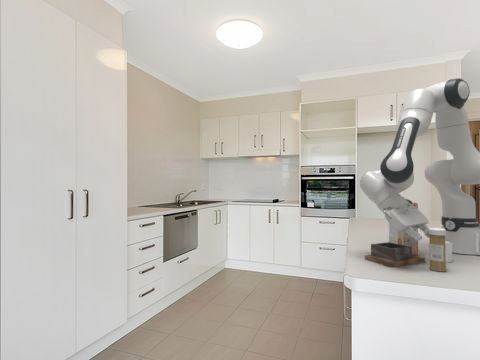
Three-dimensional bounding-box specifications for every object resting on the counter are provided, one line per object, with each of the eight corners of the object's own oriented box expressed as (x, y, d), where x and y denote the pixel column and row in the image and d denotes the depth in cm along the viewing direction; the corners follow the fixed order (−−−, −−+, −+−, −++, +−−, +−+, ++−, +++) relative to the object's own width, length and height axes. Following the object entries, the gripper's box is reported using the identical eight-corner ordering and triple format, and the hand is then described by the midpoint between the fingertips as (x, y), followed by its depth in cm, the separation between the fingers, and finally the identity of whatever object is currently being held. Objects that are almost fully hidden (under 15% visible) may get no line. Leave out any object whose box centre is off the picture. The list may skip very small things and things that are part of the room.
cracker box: (419, 255, 108) (418, 202, 109) (403, 255, 109) (402, 202, 110) (402, 248, 122) (402, 200, 123) (388, 247, 123) (387, 200, 123)
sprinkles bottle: (449, 270, 89) (448, 228, 89) (442, 272, 87) (441, 230, 87) (433, 267, 93) (432, 227, 93) (426, 269, 91) (425, 228, 91)
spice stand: (397, 255, 109) (397, 241, 109) (424, 262, 99) (424, 246, 99) (364, 259, 103) (364, 244, 103) (390, 267, 93) (390, 250, 93)
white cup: (448, 259, 103) (448, 240, 103) (456, 264, 97) (456, 244, 97) (427, 257, 105) (427, 239, 106) (433, 262, 99) (433, 242, 99)
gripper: (387, 202, 93) (420, 235, 85) (413, 200, 105) (444, 229, 97) (374, 214, 96) (404, 247, 88) (400, 211, 108) (429, 240, 100)
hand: (425, 238), depth 92 cm, fingers open, 8 cm apart
